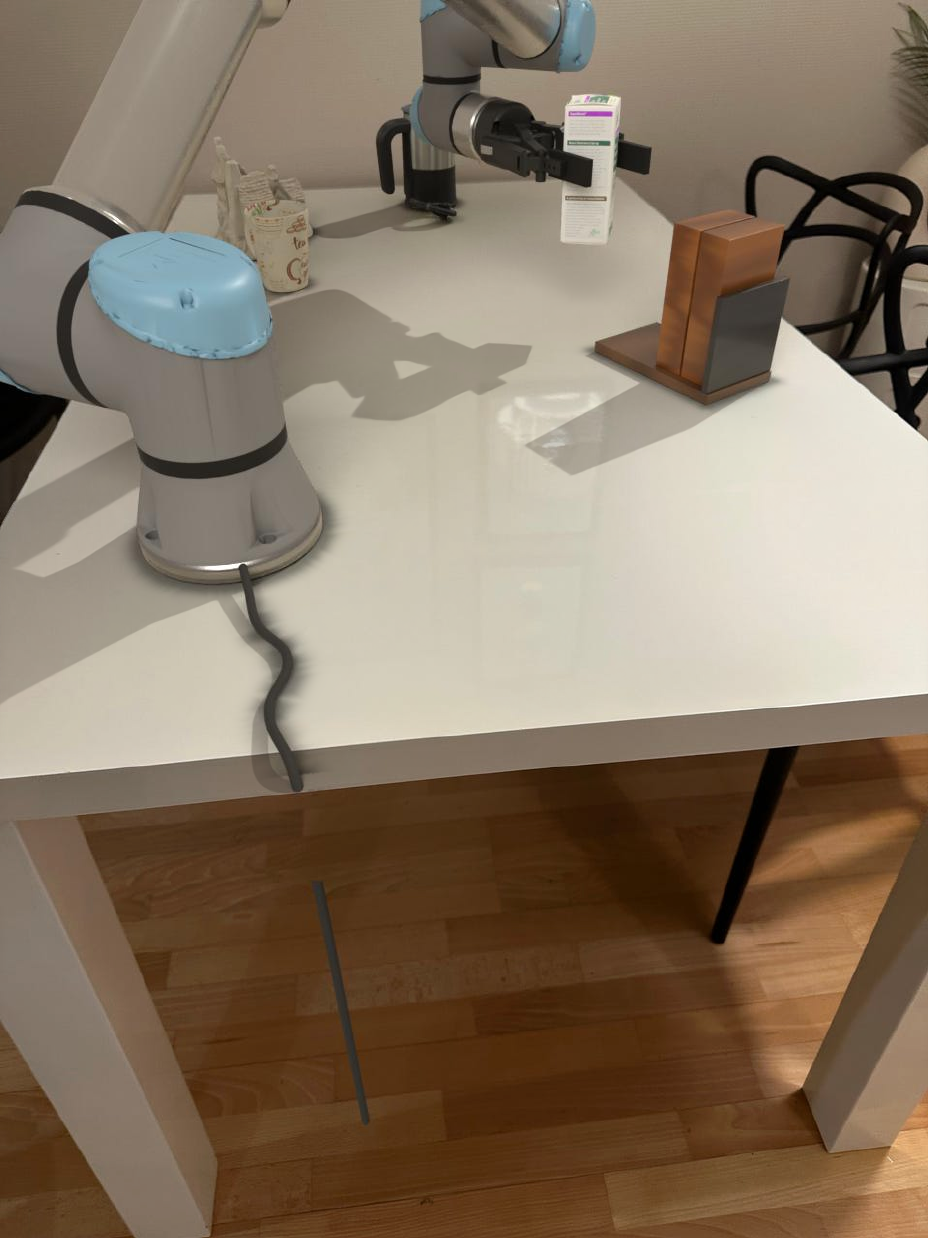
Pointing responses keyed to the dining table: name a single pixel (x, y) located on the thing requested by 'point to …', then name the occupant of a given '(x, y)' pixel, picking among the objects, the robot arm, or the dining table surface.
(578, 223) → the syrup box
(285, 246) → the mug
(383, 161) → the milk frother
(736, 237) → the wooden bookend
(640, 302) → the dining table surface
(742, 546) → the dining table surface
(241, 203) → the ceramic cottage
